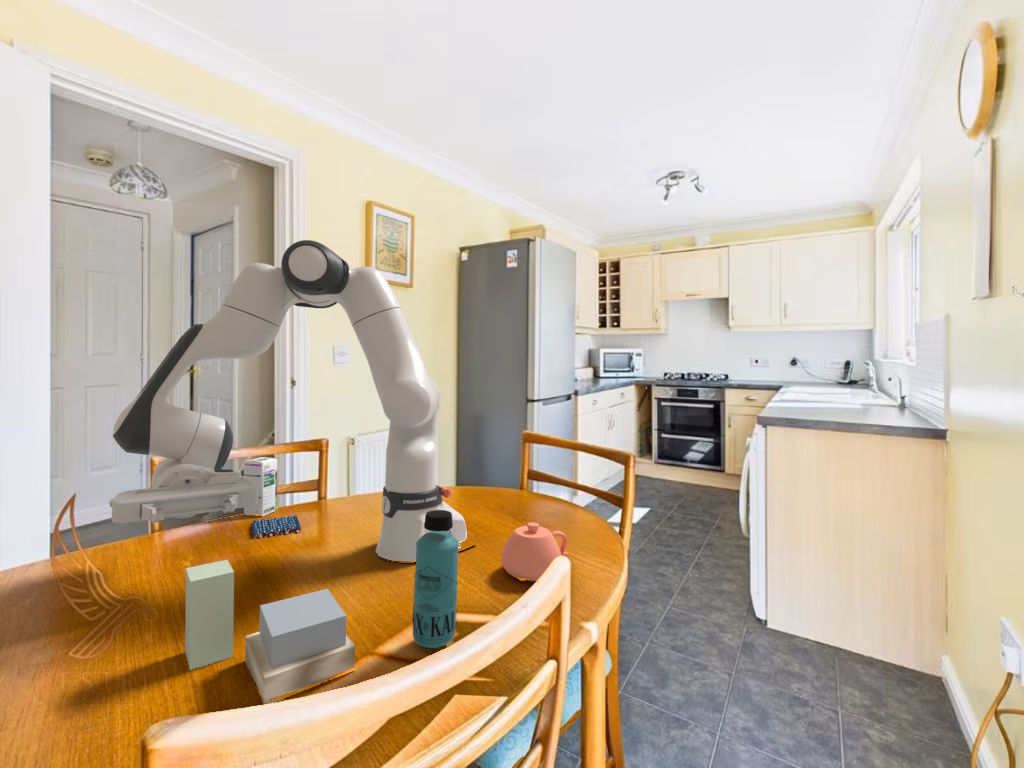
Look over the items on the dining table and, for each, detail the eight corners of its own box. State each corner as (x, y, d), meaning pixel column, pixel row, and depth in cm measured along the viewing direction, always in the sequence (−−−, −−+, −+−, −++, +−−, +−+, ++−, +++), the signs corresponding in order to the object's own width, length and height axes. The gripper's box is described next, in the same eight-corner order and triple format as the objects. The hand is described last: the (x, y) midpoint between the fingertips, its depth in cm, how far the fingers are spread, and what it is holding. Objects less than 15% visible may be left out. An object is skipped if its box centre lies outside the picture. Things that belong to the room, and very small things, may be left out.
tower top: (327, 615, 70) (327, 588, 70) (345, 644, 63) (346, 615, 63) (259, 633, 65) (260, 605, 65) (271, 668, 58) (272, 636, 58)
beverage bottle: (414, 633, 73) (417, 505, 72) (457, 632, 73) (461, 505, 72) (408, 659, 66) (412, 519, 65) (455, 658, 67) (460, 519, 66)
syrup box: (262, 517, 122) (263, 462, 122) (242, 515, 124) (243, 460, 123) (277, 510, 128) (278, 457, 127) (258, 508, 129) (259, 456, 129)
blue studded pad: (249, 527, 116) (249, 519, 116) (296, 521, 122) (296, 513, 122) (250, 542, 107) (251, 533, 107) (301, 534, 113) (301, 526, 113)
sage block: (226, 639, 69) (227, 559, 69) (233, 656, 65) (234, 571, 65) (185, 652, 66) (185, 568, 66) (189, 670, 62) (190, 581, 62)
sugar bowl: (495, 562, 100) (497, 515, 99) (558, 559, 103) (560, 512, 102) (508, 590, 88) (510, 536, 87) (578, 585, 91) (581, 532, 91)
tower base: (326, 636, 72) (327, 611, 72) (354, 674, 63) (355, 645, 63) (245, 664, 65) (245, 635, 65) (264, 710, 56) (264, 678, 56)
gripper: (109, 480, 78) (109, 502, 67) (248, 468, 91) (266, 485, 81) (108, 518, 78) (108, 545, 68) (247, 501, 91) (264, 521, 81)
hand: (195, 512), depth 74 cm, fingers open, 8 cm apart
